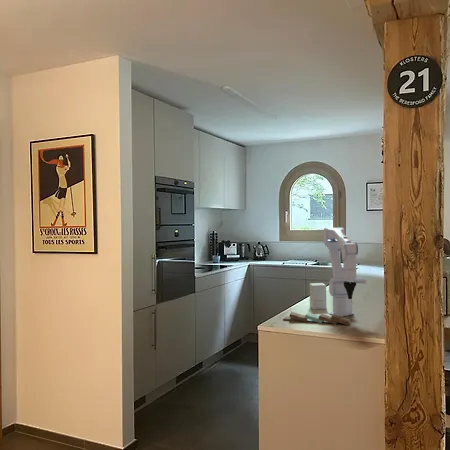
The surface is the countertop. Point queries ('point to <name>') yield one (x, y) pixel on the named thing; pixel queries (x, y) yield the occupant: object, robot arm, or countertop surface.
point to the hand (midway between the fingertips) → (350, 298)
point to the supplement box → (318, 296)
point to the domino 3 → (313, 317)
